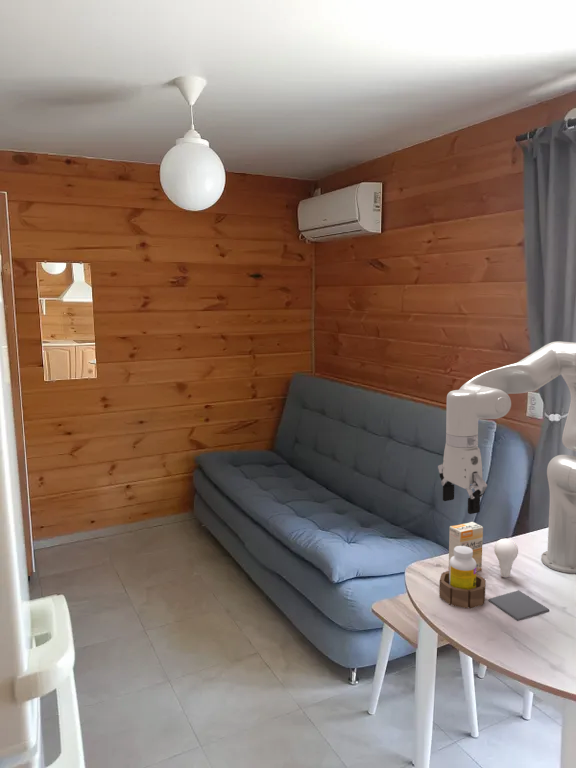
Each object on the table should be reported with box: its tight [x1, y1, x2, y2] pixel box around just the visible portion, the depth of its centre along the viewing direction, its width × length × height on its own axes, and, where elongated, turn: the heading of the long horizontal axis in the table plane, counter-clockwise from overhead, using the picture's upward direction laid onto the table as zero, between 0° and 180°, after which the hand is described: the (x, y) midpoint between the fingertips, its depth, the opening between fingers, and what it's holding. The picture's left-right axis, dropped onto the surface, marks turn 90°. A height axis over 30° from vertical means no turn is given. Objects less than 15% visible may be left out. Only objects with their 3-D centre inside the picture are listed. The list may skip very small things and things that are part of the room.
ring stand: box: [438, 570, 487, 609], centre depth 149 cm, size 11×11×4 cm
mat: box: [488, 589, 550, 622], centre depth 144 cm, size 10×10×1 cm
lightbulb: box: [493, 538, 519, 579], centre depth 157 cm, size 6×6×11 cm
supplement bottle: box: [448, 546, 477, 590], centre depth 148 cm, size 7×7×13 cm
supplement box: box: [448, 521, 484, 572], centre depth 162 cm, size 8×5×13 cm, turn 113°
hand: (460, 506), depth 145 cm, fingers open, 9 cm apart
